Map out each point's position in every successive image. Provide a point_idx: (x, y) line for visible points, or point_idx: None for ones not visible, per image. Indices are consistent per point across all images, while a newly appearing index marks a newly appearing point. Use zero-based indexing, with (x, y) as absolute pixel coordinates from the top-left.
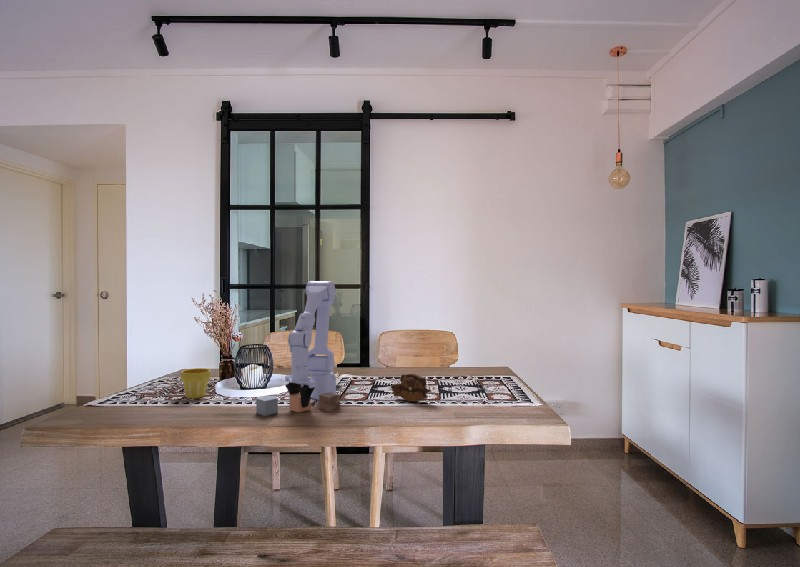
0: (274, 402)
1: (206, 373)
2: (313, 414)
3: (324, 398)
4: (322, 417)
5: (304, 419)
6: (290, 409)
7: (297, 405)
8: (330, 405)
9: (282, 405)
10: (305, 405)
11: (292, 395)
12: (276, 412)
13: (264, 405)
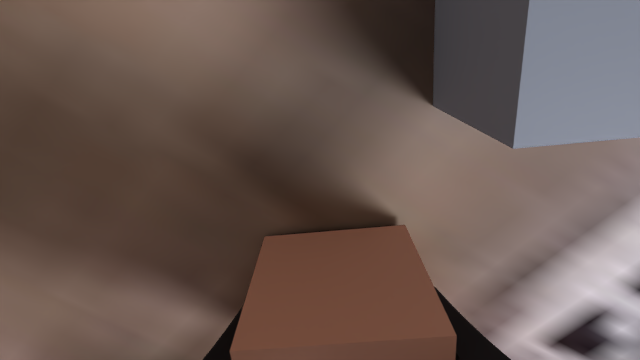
0: (487, 70)
1: None
2: (159, 299)
3: None
4: (43, 306)
5: (61, 181)
6: (391, 228)
7: (271, 274)
8: None
9: (593, 252)
10: None
11: (403, 352)
12: (435, 90)
13: None
